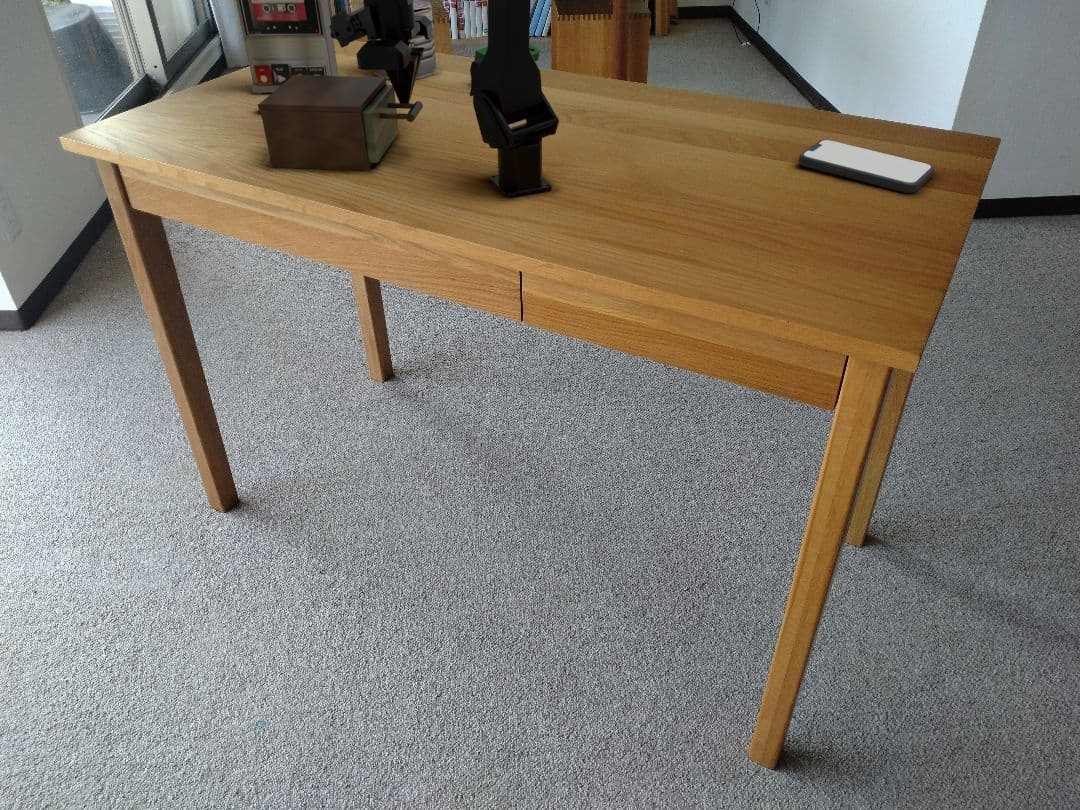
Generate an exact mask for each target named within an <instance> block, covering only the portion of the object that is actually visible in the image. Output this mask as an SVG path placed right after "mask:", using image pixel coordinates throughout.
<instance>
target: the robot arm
mask: <svg viewBox="0 0 1080 810" xmlns="http://www.w3.org/2000/svg"><path fill="white" fill-rule="evenodd" d="M362 2H363V7H360V8H358V9H356V10H353V11H351V12H349V13H347V11H345V10H342V11H340V12H338V13H337V14H334V15H331V16H330V20H331V24H330V26H329V27H330V29H331V34H330V35H331V37H332V38H333V40H337V42H338V44H339V46H340V48H341V49H342V48H345V47H348V46H349V45H350V43H353V42H355V41H357V40H359V39H362V38H364V37H367V41H366V42H365V43H363V45H362V46H361V47H360V48H359V50H358V51H357V52H356V54H355V55H356V56H355V57H356V62H357V68H358V70H361V71H375V70H385V71H386V73H387V75H388V77H389V79H388V80H389V82H390V83H391V85H392V86H393V88H394V91H395V96H396V97H397V100H398V103H411V100H412V95H413V91H414V87H415V85H416V80H417V79H416V77H417V73H418V70H419V66H420V62H421V59H422V55H423V52H424V48H423V47H414V42H411V40H412V39H413V38H414V37H415V36H422V35H424V37H425V40H430V38H431V37H432V36H433V31H434V28H433V29H432V22H431V21H430V20H429V19H428V18H427V17H426V16H425V15H415V14H414V6H413V0H363V1H362ZM531 3H532V2H531V0H487V47H488V48H487V51H486V53H485V55H484V57H483V59H481V60H477V61H474V60H473V61H471V64H470V68H469V74H470V81H471V83H470V84H471V85H470V90H469V97H472V106H473V110H474V114H475V117H476V122H477V124H478V128H479V132H480V135H481V140H482V142H483V143H485V144H487V145H488V146H489V148H490V149H496V150H497V174H493V175H489V181H490V182H491V184H493V186H495V188H496V189H497V190H498V191H499V192H500V193H501V194H502V195H503V197H505V198H507V197H508V198H509V197H515V196H522V195H528V194H534V193H540V192H546V191H551V190H552V189H553V185H552V184H551V183H550V182H549V181H548V180H547V179H546V178H545V177H543V139H544V138H546V137H549V136H555V135H556V134H557V131H558V127H559V123H560V119H559V117H558V116H557V114H556V112H555V111H554V109H553V107H552V106H551V104H550V102H549V100H548V99H547V97H546V96H545V94H544V92H543V88H542V78H541V77H542V76H541V70H540V68H539V66H538V64H537V61H535V60H534V58H533V56H532V54H531V52H530V49H529V44H530V37H531V36H530V34H531V32H530V31H531V30H530V29H531ZM377 39H380V40H377ZM522 121H525V122H523V123H522V124H521V123H520V124H518V125H515V126H512V127H510V125H513V124H515V123H516V124H517V123H518V122H522Z"/></svg>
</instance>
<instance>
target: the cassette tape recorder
mask: <svg viewBox="0 0 1080 810" xmlns="http://www.w3.org/2000/svg"><path fill="white" fill-rule="evenodd" d="M235 2H236V8H237V12H238V17H239V23H240V27H241V32H242V37H243V41H244V45H245V52H246V55H247V60H248V65H249V71H250V76H251V81H252V84H251V89H252V93H256V94H257V95H262V94H264V93H273V92H274V91H275V90H276V89H278V88H279V87H280V86H281V85H283V84H284V83H285V82H286V81H287V80H289V79H290V78H291V77H292V76H293V75H316V76H341V75H340V74H339V69H338V63H337V55H336V49H335V41H334V39H333V38H332V37H331V35H330V34H331V29H330V27H329V26H330V24H331V14H330V8H329V7H330V6H329V0H235Z"/></svg>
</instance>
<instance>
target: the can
mask: <svg viewBox="0 0 1080 810" xmlns="http://www.w3.org/2000/svg"><path fill="white" fill-rule="evenodd" d="M413 6H414V14H415V15H425V16H426V17H427V18H428V19H429V20H430V21H431V22H432V29H433V36H432V37H431V38H430V40H425V37H424V35H422V36H415V37H414V38H413V39H412V40H411V42H414V47H423V48H424V52H423V55H422V59H421V62H420V66H419V70H418V73H417V77H416V80H422V79H425V78H428V77H432V76H434V75H435V73H436V71H437V60H436V59H437V57H436V47H435V33H434V21H433V5H432V4H431V2H428V1H424V0H413ZM377 40H380V39H377ZM374 75H375V76H376V77H386V80H390V79H389V77H388V75H387V73H386V71H385V70H374Z"/></svg>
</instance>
